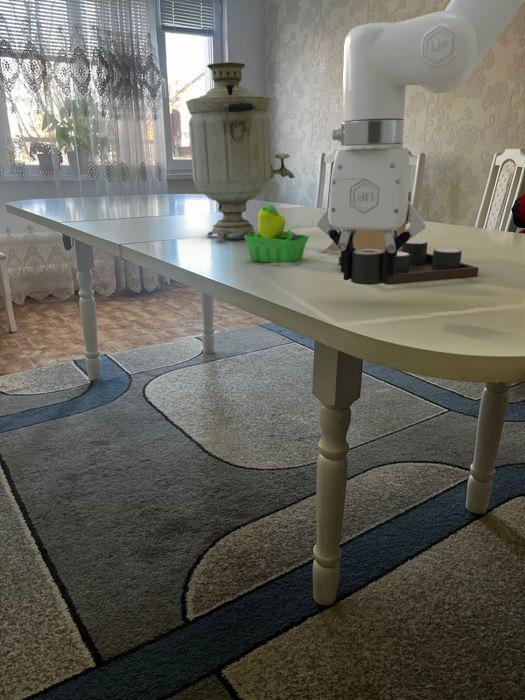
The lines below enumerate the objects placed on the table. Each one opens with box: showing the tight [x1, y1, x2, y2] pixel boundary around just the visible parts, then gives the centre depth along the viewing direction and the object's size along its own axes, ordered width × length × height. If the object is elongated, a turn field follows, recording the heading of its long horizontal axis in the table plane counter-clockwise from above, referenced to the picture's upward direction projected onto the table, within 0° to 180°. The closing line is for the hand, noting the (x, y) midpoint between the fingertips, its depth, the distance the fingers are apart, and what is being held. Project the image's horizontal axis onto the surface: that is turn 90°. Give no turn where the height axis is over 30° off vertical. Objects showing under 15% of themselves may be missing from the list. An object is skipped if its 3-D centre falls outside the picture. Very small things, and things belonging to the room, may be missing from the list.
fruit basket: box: [243, 204, 310, 264], centre depth 107 cm, size 11×9×11 cm
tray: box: [338, 252, 480, 286], centre depth 97 cm, size 18×18×2 cm
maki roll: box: [350, 249, 385, 286], centre depth 74 cm, size 5×5×4 cm
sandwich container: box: [324, 224, 407, 252], centre depth 117 cm, size 9×15×15 cm, turn 49°
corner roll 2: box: [401, 239, 428, 266], centre depth 102 cm, size 5×5×4 cm
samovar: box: [185, 61, 295, 243], centre depth 133 cm, size 30×26×40 cm
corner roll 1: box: [396, 251, 411, 273], centre depth 91 cm, size 5×5×4 cm
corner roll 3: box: [432, 247, 463, 270], centre depth 93 cm, size 5×5×4 cm
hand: (367, 278), depth 74 cm, fingers closed on maki roll, 4 cm apart
